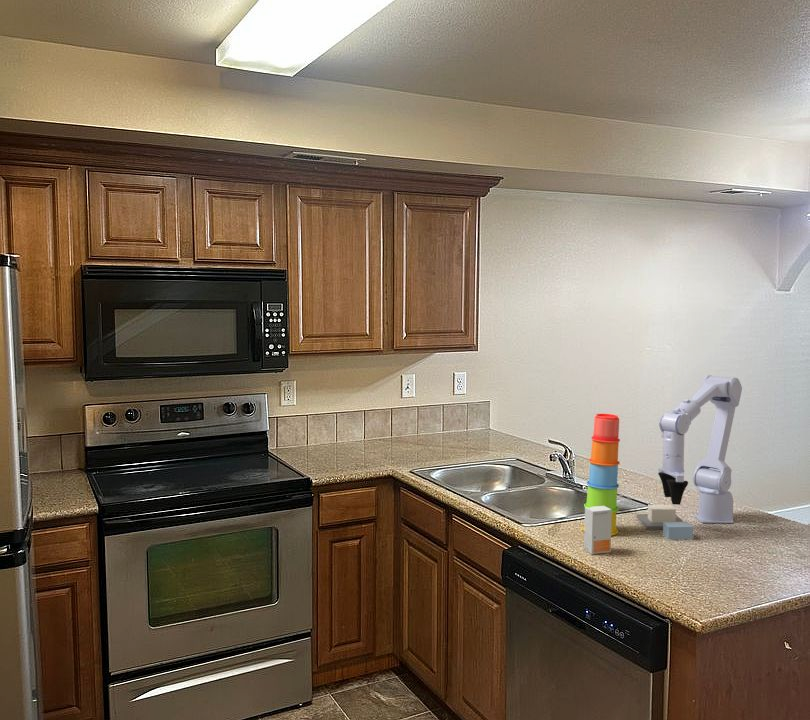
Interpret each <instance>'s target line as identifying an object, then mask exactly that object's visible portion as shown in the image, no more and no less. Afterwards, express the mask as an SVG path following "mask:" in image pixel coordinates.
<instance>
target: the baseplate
mask: <svg viewBox="0 0 810 720" xmlns="http://www.w3.org/2000/svg"><path fill="white" fill-rule="evenodd" d="M636 518H637V520H638V521H639V522H640V523H641V525H642V526H643V527H644V528H645V530H649V529H650V530H651V531H652V530H654V529H657V531H658V529H663V522H651V521H650V520H649V519H648V513H637V514H636ZM675 522H684V521H683V520H682V519H681V518H680V517H679V516H678V515H677V514H676V518H675ZM654 531H655V530H654Z"/></svg>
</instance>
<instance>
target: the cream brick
mask: <svg viewBox="0 0 810 720" xmlns="http://www.w3.org/2000/svg"><path fill="white" fill-rule="evenodd" d="M647 514H648V519H649V520H650V521H651V522H675V518H676V515H677V514H676V508H675V507H674V506H673V504H648V505H647Z"/></svg>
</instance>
